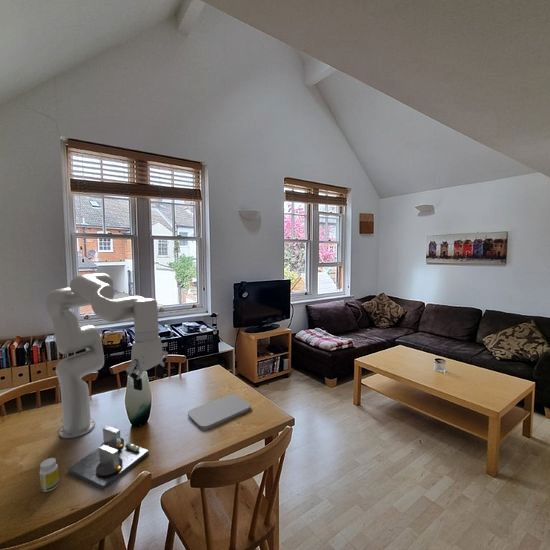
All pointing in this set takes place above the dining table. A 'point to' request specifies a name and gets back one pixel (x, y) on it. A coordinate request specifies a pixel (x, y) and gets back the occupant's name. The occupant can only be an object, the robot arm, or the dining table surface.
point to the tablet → (218, 411)
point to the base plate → (88, 464)
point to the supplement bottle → (49, 475)
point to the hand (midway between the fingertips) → (149, 383)
